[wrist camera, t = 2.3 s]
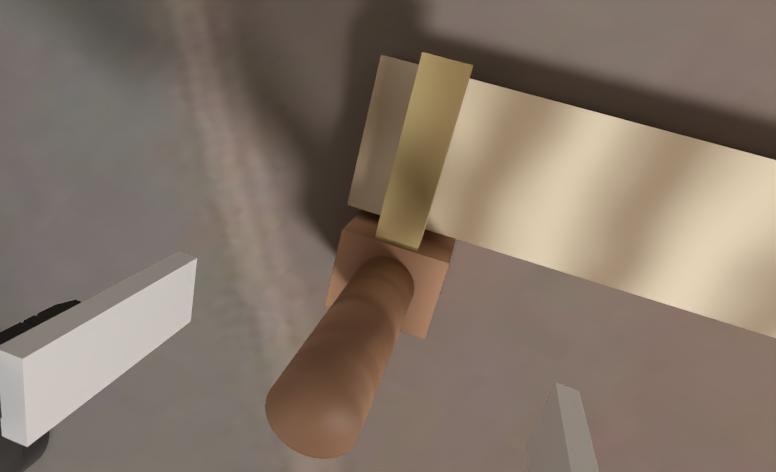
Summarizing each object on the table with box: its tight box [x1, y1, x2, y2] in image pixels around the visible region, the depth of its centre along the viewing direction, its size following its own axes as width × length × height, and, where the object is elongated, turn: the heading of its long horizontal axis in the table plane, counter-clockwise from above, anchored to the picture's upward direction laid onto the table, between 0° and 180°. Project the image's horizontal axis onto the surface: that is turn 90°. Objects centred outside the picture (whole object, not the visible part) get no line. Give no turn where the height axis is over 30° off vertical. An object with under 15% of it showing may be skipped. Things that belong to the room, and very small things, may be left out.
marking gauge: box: [265, 52, 473, 459], centre depth 17 cm, size 5×12×13 cm, turn 166°
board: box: [347, 55, 776, 338], centre depth 21 cm, size 24×7×2 cm, turn 76°
